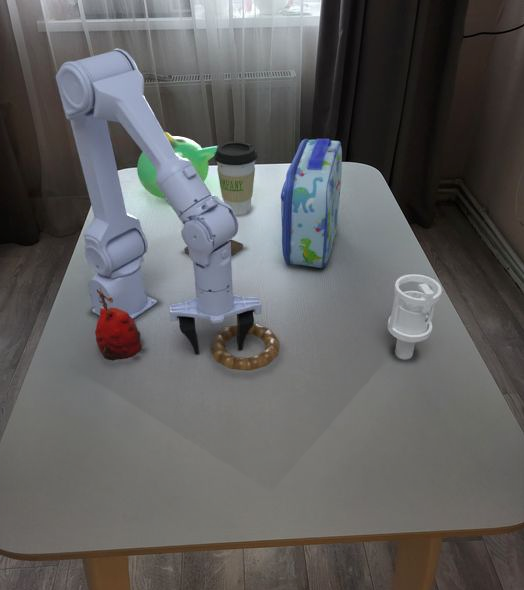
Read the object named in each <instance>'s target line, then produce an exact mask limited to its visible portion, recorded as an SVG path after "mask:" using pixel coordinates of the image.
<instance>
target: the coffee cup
mask: <svg viewBox="0 0 524 590" xmlns="http://www.w3.org/2000/svg"><path fill="white" fill-rule="evenodd" d="M217 146H218V147H217V150H216V152H215V155H214V156H213V158H214V160H215V161H216V165H217V168H216V169H217V175H218V181H219V187H220V188H219V189H220V193H221V198H222V201H223V202H225V203H226V204H228V205H229V206H230V207H231V208H232V209H233V212H234V214H235V215H236V216H243V215H247V214H248V213H249V212H250V211H251V205H252V197H253V193H254V182H255V172H256V167H255V166H256V160H257V159H258V154H257V151H256V150H255V146H254V145H253V144H251V143H250V142H245V141H238V140H237V141H236V140H233V141H227V142H222V143H220V144H219V145H217Z"/></svg>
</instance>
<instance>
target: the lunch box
mask: <svg viewBox="0 0 524 590" xmlns="http://www.w3.org/2000/svg"><path fill="white" fill-rule="evenodd" d="M342 168H343V150H342V143H341V141H339V140H331V139H330V138H316V139H309V138H304V139H303V140H301V142H300V144H299V145H298V148H297V151H296V153H295V155H294V157H293V159H292V162H291V163H290V165H289V167H288V169H287V171H286V175H285V181H284V183H283V185H282V189H281V193H280V213H281V214H280V216H281V217H280V218H281V250H282V257H283V260H284V263H285V264H286V266H290V265H298V266H299V265H300V266H301V265H302V266H307V267H313V268H318V269H322V268H325V267H326V266H327V264H328V261H329V260H330V256H331V253H332V248H333V245H334V241H335V237H336V234H337V229H338V217H339V215H338V213H339V204H340V198H341V186H342V173H343V172H342V171H343V169H342Z"/></svg>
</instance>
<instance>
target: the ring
mask: <svg viewBox="0 0 524 590" xmlns="http://www.w3.org/2000/svg"><path fill="white" fill-rule="evenodd" d="M247 335H253V336H255V337H257V338H259V339H261V340H262V342H263V344H264V350H262V351H261V352H260V353H259V354H257V355H254V356H251V357H240V356H235V355H233V354H231V353H229V352H228V351H227V349H226V346H227V342H228V341H230V340H231V339H232V338H234V337H237V323H234V324H230V325H227V326H225V327H223V328H222V329H221V330H219V331H218V332H216V334H214V336H213V339H212V341H211V345H210V348H209V349H210V353H211V354H212V356H213V358H214V360H215V361H216V363H218V364H221V365H222V366H224V367H226V368H227V369H229V370H235V371H247V372H248V371H254V370H257V369H260V368H261V369H262V368H263V367H267V366H268V365H270V364H271V363H272V362H273V361H274V360H275V359H276V358H277V357H278V356H279V352H280V345H281V343H280V340H279V339H278V337H277V336H276V334H275V333H274V331H273V330H272V329H271V328H268V327H266V326H264V325H261V324H260V323H255V322H254V324H253V326H252V327H251V329H250V330H249V332H248V333H247Z"/></svg>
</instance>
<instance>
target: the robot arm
mask: <svg viewBox="0 0 524 590" xmlns="http://www.w3.org/2000/svg"><path fill="white" fill-rule="evenodd" d="M55 80H56V83H57V85H56V86H57V88H58V92H59V95H60V100H61V103H62V109H63V111H64V115H65V118H66V120H67V121H69V122H70V126H71V130H72V134H73V138H74V141H75V146H76V150H77V154H78V157H79V161H80V166H81V169H82V174H83V177H84V181H85V184H86V190H87V193H88V197H89V201H90V204H91V209H92V212H93V219H92V220H91V221H90V223H89V225H88V226H87V228H86V229H85V231H84V232H83V238H84V242H85V243H84V244H85V247H84V250H85V251H84V255H85V258H86V261H87V263H88V265H89V266H90V268H92V270H93V271H94V272H95V273H96V275H94V277H92V279H90V280H89V282H88V289H89V293H90V297H91V301H92V305H93V308H92V310H91V311H92V313H94V314H96V315H97V316H99V317H100V311H101V310H102V309H103V306H102V304H103V301H102V299H101V297H100V295H99V294H100V293H98V292H97V290H98V291H99V292H100V287H101V292H102V293H103V294H104V295H105V296H106V297H108V298H112V299H113V303H110V302H109V301H108V299H106V298H104V299H105V302H106V303H107V308H108V309H109V308H118V309H120V310H123V311H125V312H127V313H128V314H129V316H130V317H131V318H133V320H134V319H136V318H137V317H139V316H140V315H142V314H143V313H145V312H147V311H148V310H149V309H151V308H153V307H154V306H155V305H157V304H158V300H157V299H154V298H153V297H151V296H148V295H147V293H146V288H145V282H144V281H145V280H144V276H143V269H142V263H143V262H144V261H145V260H144V256H145V255H146V254H147V252H148V250H149V244H148V239H147V236H146V234H145V232H144V231H143V228H142V226H141V225H142V224H141V220H140V219H138V218H137V217H136V216H134V215H133V214H131V213H128V212H127V210H126V209H127V208H126V204H125V200H124V194H123V191H122V185H121V181H120V176H119V172H118V167H117V162H116V157H115V153H114V148H113V143H112V139H111V134H110V129H109V125H108V121H109V122H114V123H120V125H121V126H122V127H123V128H124V130H125V131H126V132H127V133H128V135H129V136H130V137H131V139H132V140H133V141H134V142H135V144H136V145H137V146H138V148H139V149H140V151H141V152H143V153H144V154H145V155H146V157H147V158H148V159H149V160H150V162H151V163H152V164H153V166H154V167H155V168H156V184H157V186H158V187H159V189H160V190H161V192H162V193H163V195H164V196H165V198H166V199H165V200H166V201H167V202H168V204H169V205H170V206H171V208H172V210H173V211H174V213H175V214H176V216H177V218H178V219H179V220H180V222H181V223H182V225H183V227H182V229H180V235H181V238H182V240H183V242H184V244H185V245H186V247H188V250H189V254H188V256H189V258H190V260H191V261H192V263H193V265H192V266H193V275H194V285H195V287H194V288H195V295H196V298H194V299H190V300H186V301H183V302H179V303H175V304H169V305H168V307H169V308H168V309H169V319H170V322H172V323H173V322H177V321H178V324H179V325H178V326H179V330H180V331H181V333H182V334H183V335H184V336H185V337H186V339H188V341H189V343H190V345H191V346H192V349H193V351H194V354H195V355H199V354H200V348H199V346H200V345H199V340H198V333H197V327H196V319H201V320H209V321H210V324H222V323H224V321H225V319H227V318H231V317H233V316H236V324H237V336H236V344H237V350H238V351H243V347H244V343H245V340H246V339H247V335H248V334H247V333H248V332H249V330H250V329H251V327H252V326H253V324H254V323H255V316H254V315H262V302H261V298H260V297H251V296H241V295H240V296H239V295H234V290H233V289H234V288H233V269H232V265H233V264H232V256H231V242H230V241H229V240H231V239H232V240H233V239H234V238H235V237H236V236H237V234H238V232H239V221H238V217H237V215H235V214H234V212H233V209H232V208H231V207H230V206H229V205H228V204H226V203H225V202H223V200H221V199H220V198H219V197H218V196H216V195H215V194H214V195H213V194H212V193H211V191H210V190H209V188H208V186H207V185H206V183H205V181H204V182H203V180H202V179H201V177H200V176H199V174H198V173H197V171H196V170H195V168H194V166H193V165H192V163H191V162H190V161H189V160H188V159H185V158H181V157H178V156H177V155H176V153H175V151H174V150H173V148H172V146H171V144H170V142H169V140H168V139H167V137H166V135H165V133H164V132H165V131H164V129H163V128H162V126H161V124H160V123H159V121H158V118H157V117H156V115H155V113H154V112H153V109H152V108H151V106H150V105H149V103H148V101H147V99H146V97H145V93H144V91H145V79H144V76H143V74H142V73H141V72H140V70H139V69H138V66H137V64H136V62H135V60H134V59H133V57H132V56H131V55H130V54H129V53H128V52H127V51H126V50H125V49H122V48H114V49H112V50H110V51H108V52H105V53H100V54H95V55H92V56H88V57H86V58H82V59H81V58H80V59H77V60H74V61H73V60H71V61H65V62H64V63H63V64H62V65H61V66H60V68H59V70H58V71H57V73H56V75H55ZM99 297H100V299H99ZM98 299H99V300H98Z"/></svg>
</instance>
